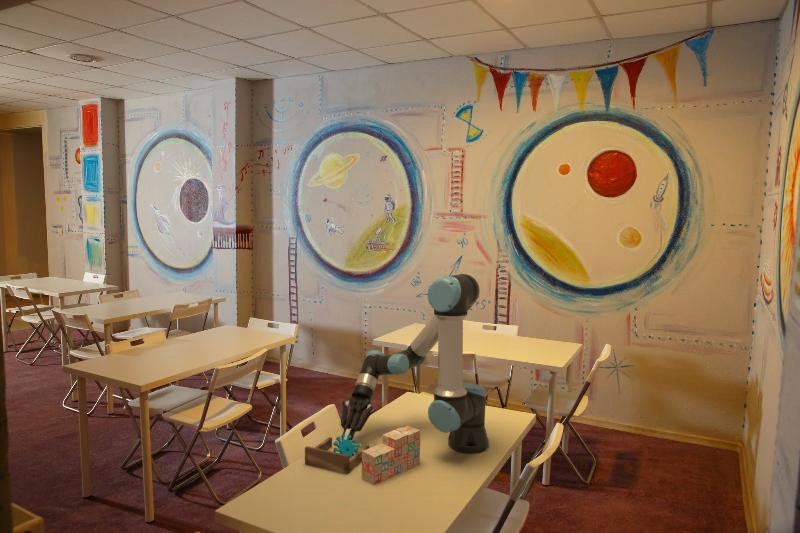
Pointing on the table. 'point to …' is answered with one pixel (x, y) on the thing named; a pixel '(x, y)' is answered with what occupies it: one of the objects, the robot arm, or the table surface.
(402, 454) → the stack of blocks
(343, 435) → the gear
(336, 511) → the table surface
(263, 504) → the table surface
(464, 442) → the robot arm
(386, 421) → the table surface
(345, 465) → the wooden u-shaped enclosure
